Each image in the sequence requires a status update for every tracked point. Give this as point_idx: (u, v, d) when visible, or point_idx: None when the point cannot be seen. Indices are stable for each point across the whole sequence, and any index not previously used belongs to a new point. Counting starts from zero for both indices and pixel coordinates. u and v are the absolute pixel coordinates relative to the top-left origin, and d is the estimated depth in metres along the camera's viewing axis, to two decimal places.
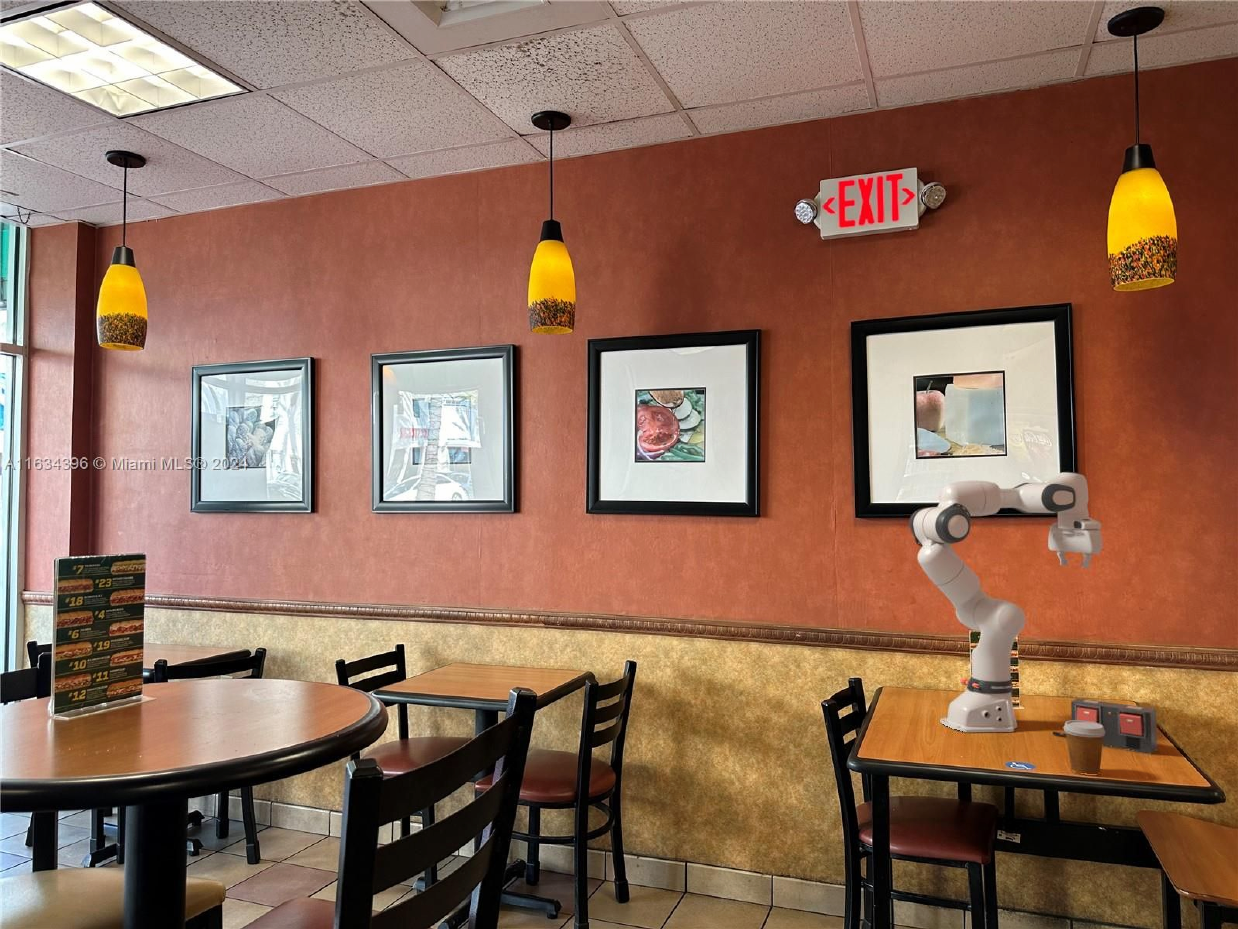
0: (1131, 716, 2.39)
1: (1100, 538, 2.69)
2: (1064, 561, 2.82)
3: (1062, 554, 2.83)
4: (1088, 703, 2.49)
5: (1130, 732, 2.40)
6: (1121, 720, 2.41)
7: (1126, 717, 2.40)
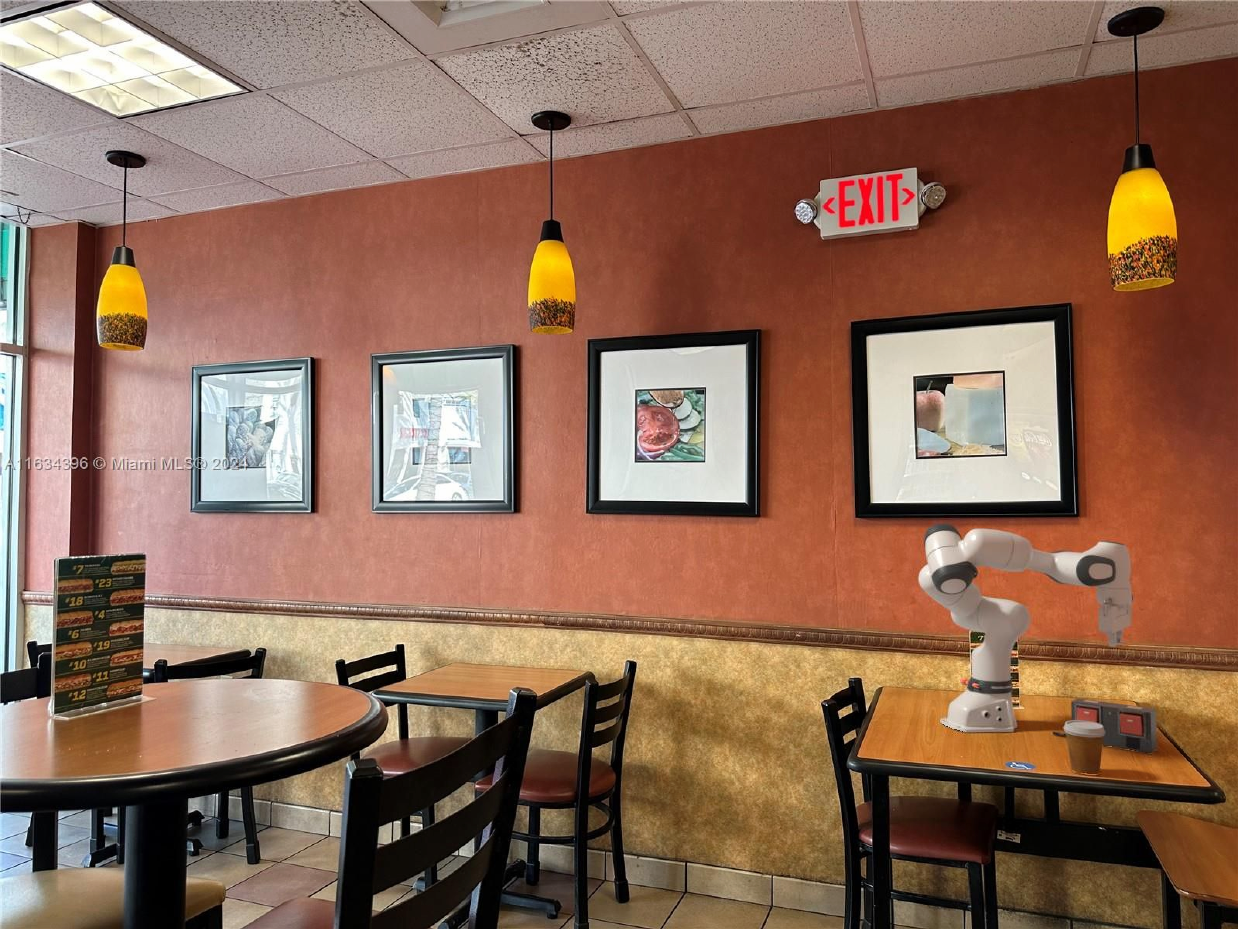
0: (1131, 716, 2.39)
1: None
2: None
3: None
4: (1088, 703, 2.49)
5: (1130, 732, 2.40)
6: (1121, 720, 2.41)
7: (1126, 717, 2.40)
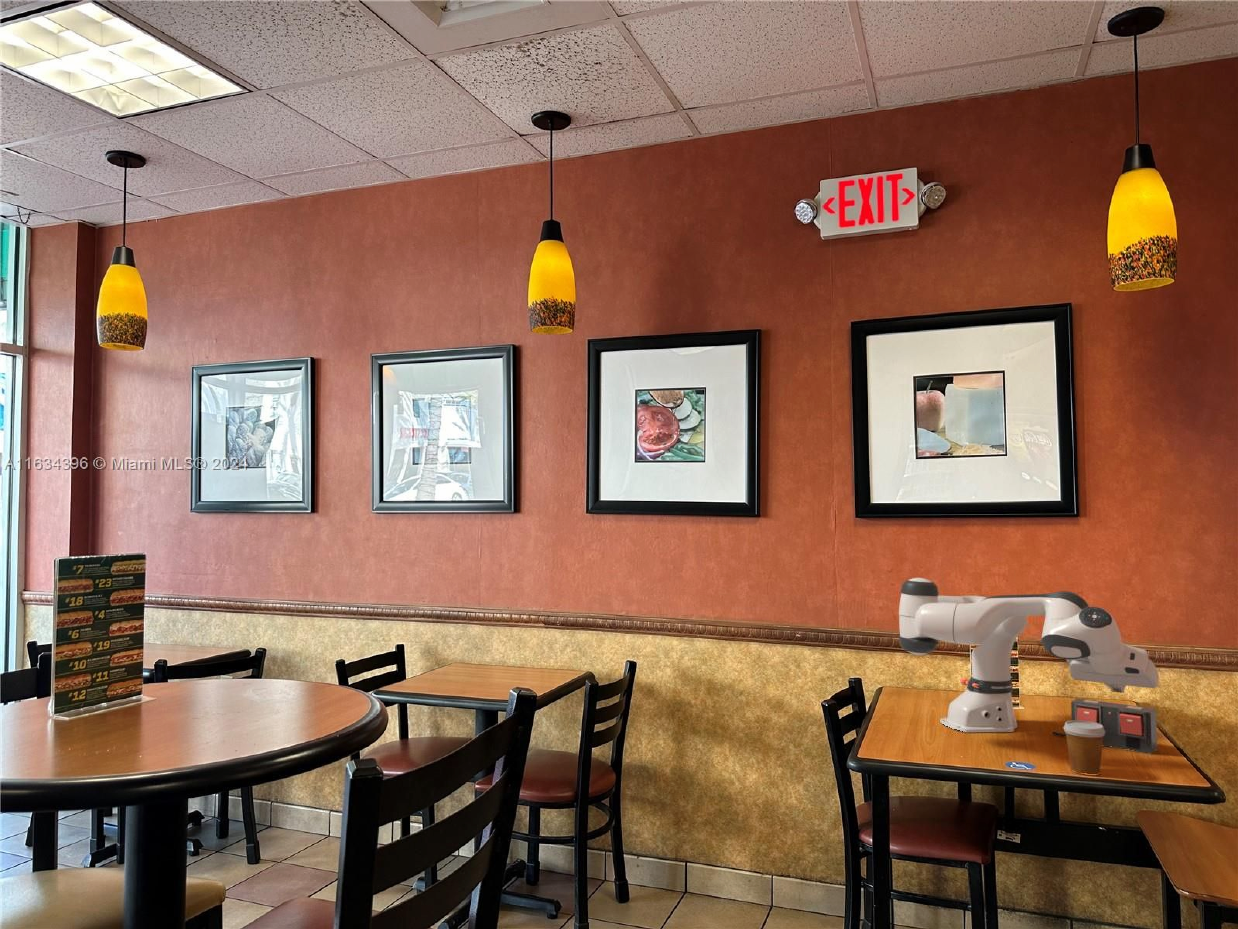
0: (1131, 716, 2.39)
1: (1154, 667, 2.21)
2: (1117, 688, 2.31)
3: None
4: (1088, 703, 2.49)
5: (1130, 732, 2.40)
6: (1121, 720, 2.41)
7: (1126, 717, 2.40)
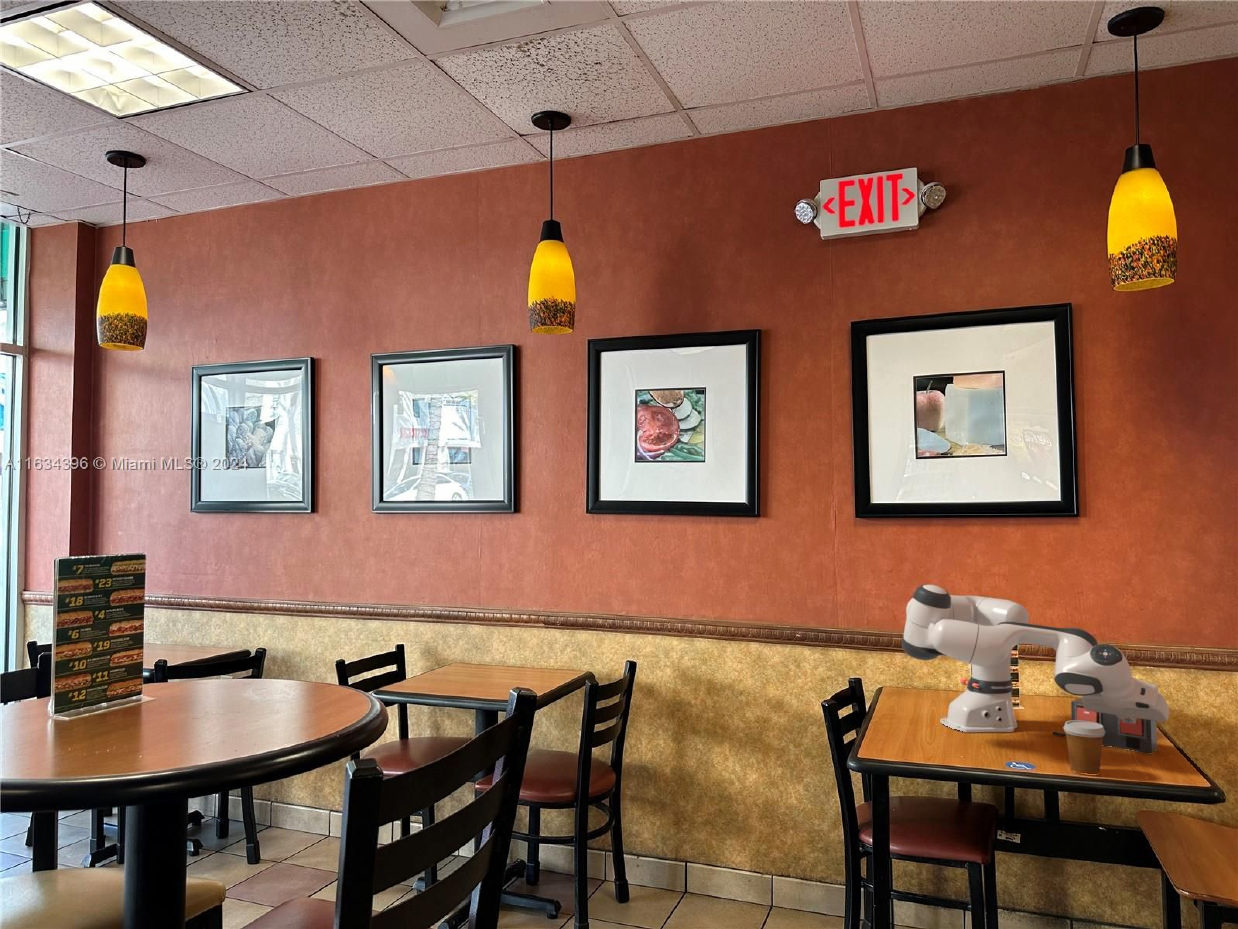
0: None
1: (1165, 701, 2.28)
2: (1128, 720, 2.38)
3: None
4: None
5: (1130, 732, 2.40)
6: (1121, 720, 2.41)
7: None
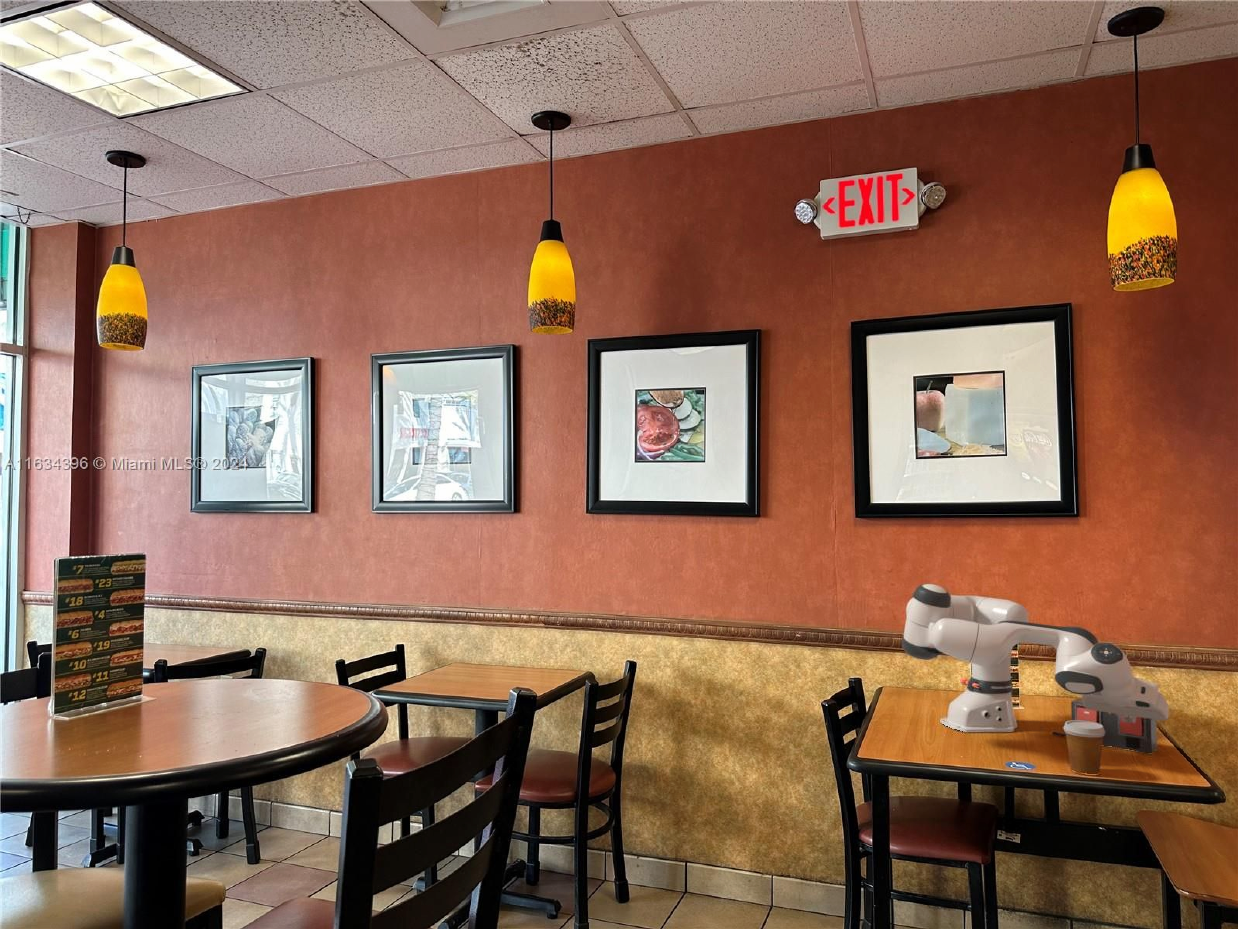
0: None
1: (1165, 700, 2.28)
2: None
3: None
4: None
5: (1130, 732, 2.39)
6: (1121, 719, 2.41)
7: None
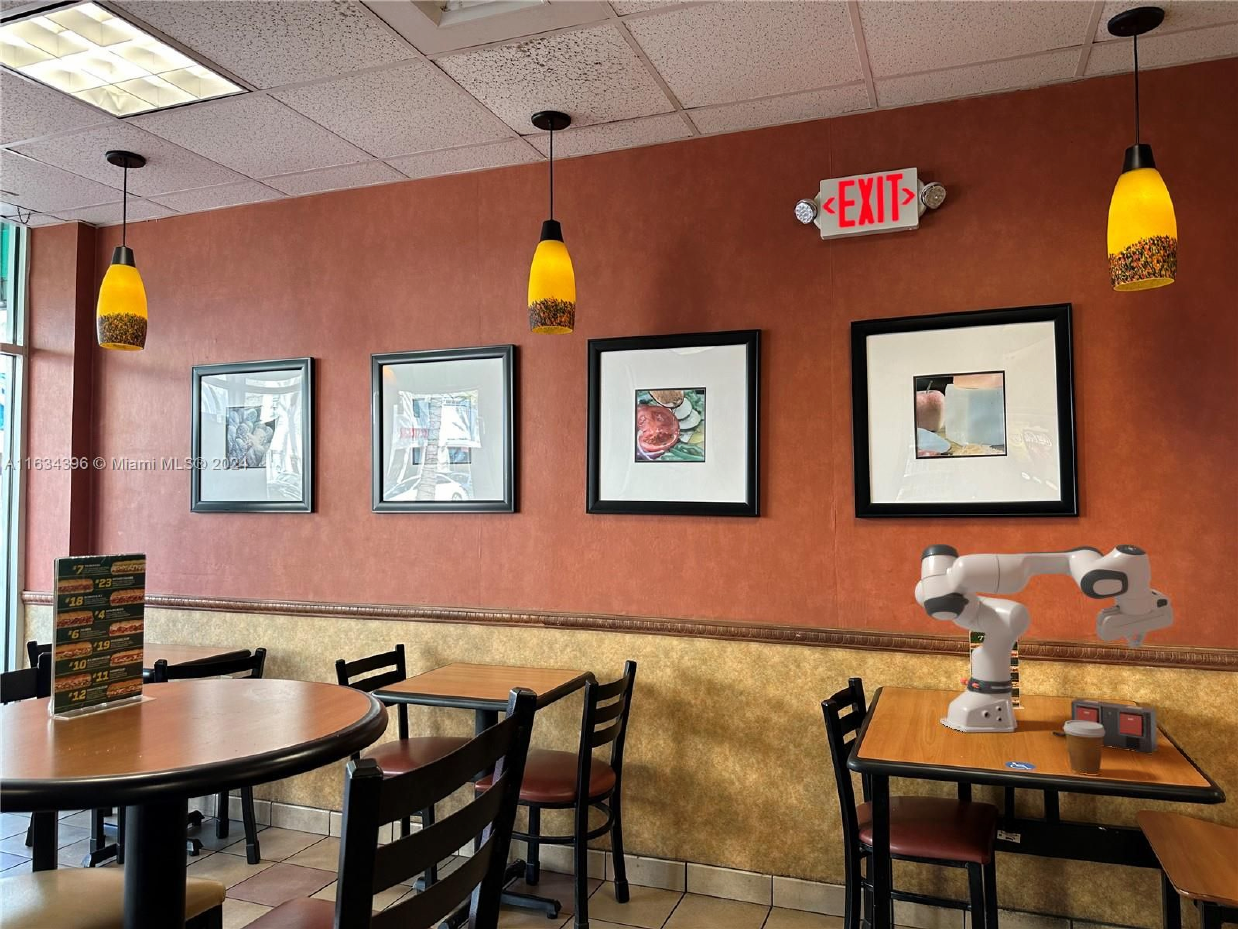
0: (1132, 715, 2.40)
1: None
2: None
3: None
4: (1088, 703, 2.49)
5: (1129, 732, 2.39)
6: (1121, 719, 2.41)
7: (1127, 715, 2.40)
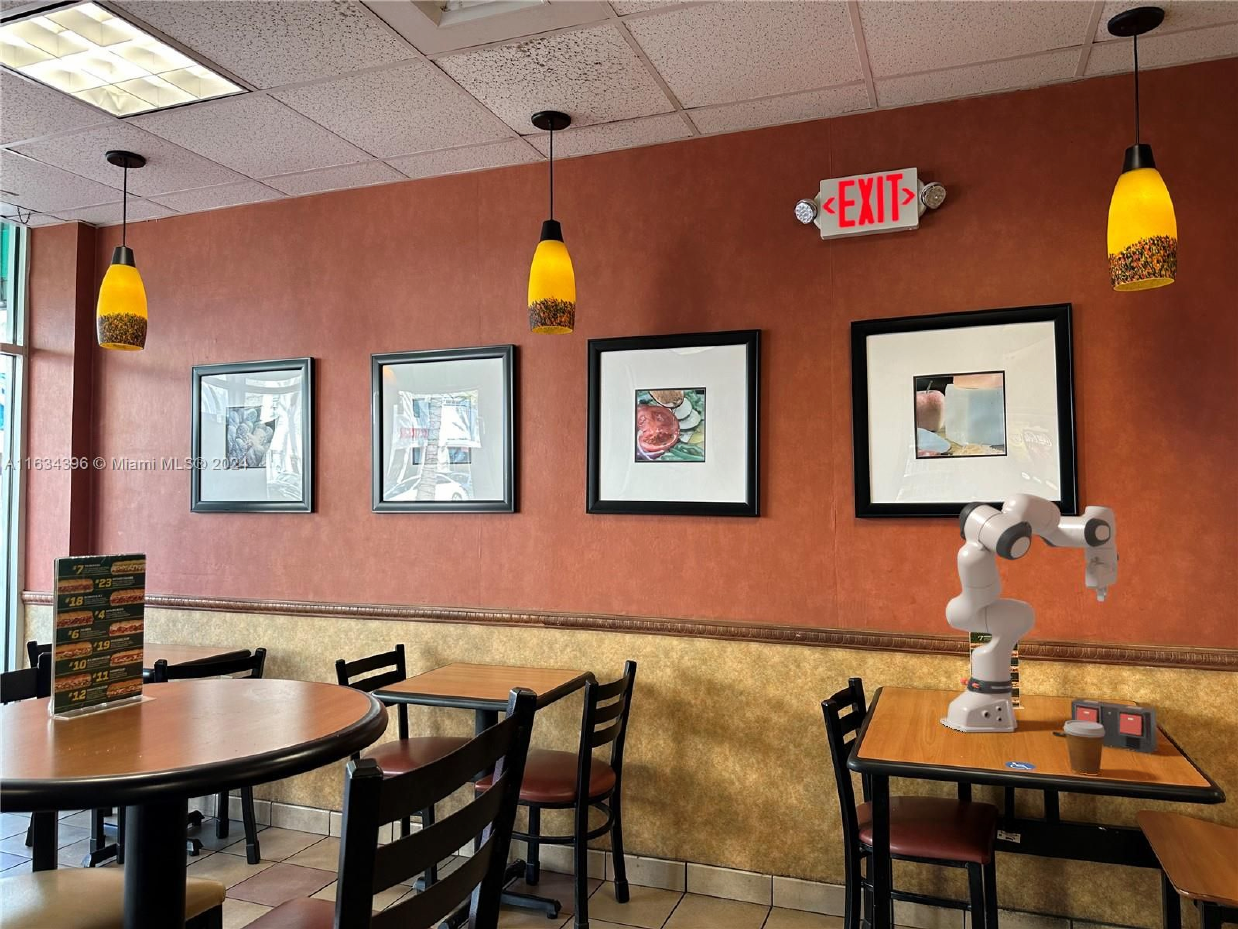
0: (1132, 715, 2.40)
1: None
2: None
3: None
4: (1088, 703, 2.49)
5: (1129, 732, 2.39)
6: (1122, 719, 2.41)
7: (1127, 715, 2.40)
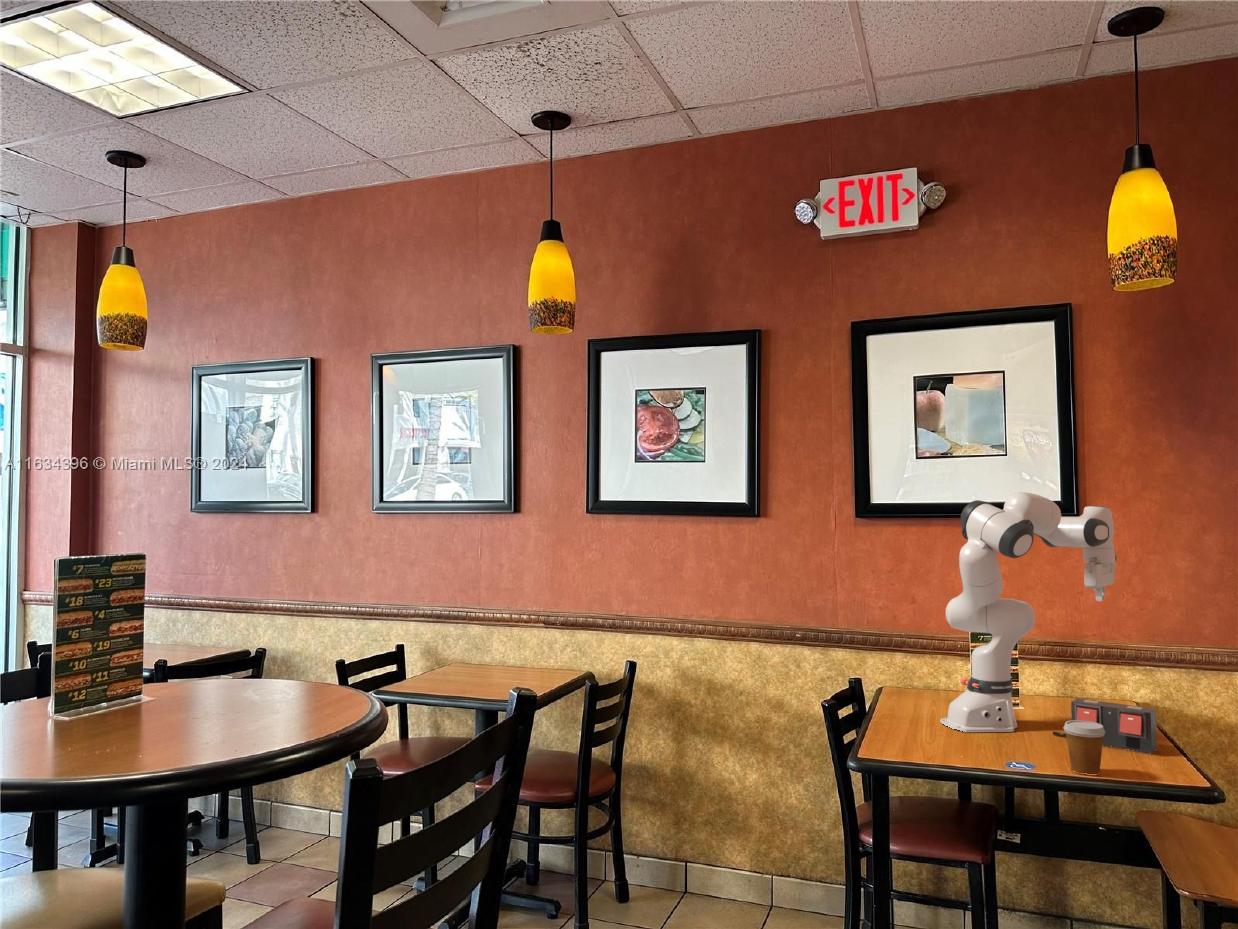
0: (1132, 715, 2.40)
1: None
2: None
3: None
4: (1088, 703, 2.49)
5: (1129, 731, 2.39)
6: (1122, 718, 2.41)
7: (1127, 715, 2.40)
